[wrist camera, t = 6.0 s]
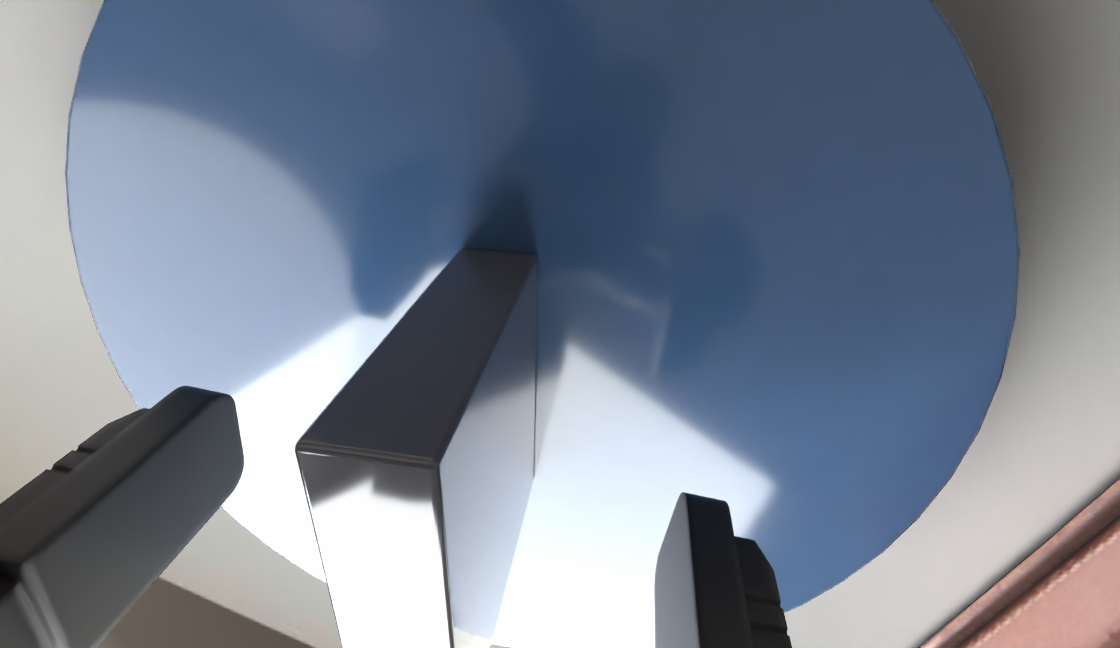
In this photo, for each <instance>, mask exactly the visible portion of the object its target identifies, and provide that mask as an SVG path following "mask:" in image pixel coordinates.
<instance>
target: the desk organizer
mask: <svg viewBox="0 0 1120 648" xmlns="http://www.w3.org/2000/svg"><path fill="white" fill-rule="evenodd" d="M919 648H1120V479H1119V480H1118V481H1116V482H1115V483H1114V484H1113V485H1112V486H1111V487H1109V488H1108V489H1107V490H1106V491H1105V492H1104V493H1103V494H1102V495H1100V496H1099V497H1098V498H1097V499H1095V500H1094V501H1093V502H1092V503H1091V504H1090V505H1088V506H1087V507H1086V508H1085V509H1084V510H1083V511H1082V512H1080V513H1079V514H1078V515H1077V516H1076V517H1075V518H1073V519H1072V520H1071V521H1070V522H1069V523H1068V524H1067V525H1065V526H1064V527H1063V528H1062V529H1061V530H1060V531H1059V532H1057V533H1056V534H1055V535H1054V536H1053V537H1052V538H1051V539H1049V540H1048V541H1047V542H1046V543H1045V544H1044V545H1042V546H1041V547H1040V548H1039V549H1038V550H1036V551H1035V552H1034V553H1033V554H1031V555H1030V556H1029V557H1028V558H1027V559H1025V560H1024V561H1023V562H1022V563H1021V564H1019V565H1018V566H1017V567H1016V568H1014V569H1013V570H1012V571H1011V572H1010V573H1008V574H1007V575H1006V576H1005V577H1004V578H1002V579H1001V580H1000V581H999V582H998V583H996V584H995V585H994V586H993V587H991V588H990V589H989V590H988V591H987V592H985V593H984V594H983V595H982V596H980V597H979V598H978V599H977V600H976V601H974V602H973V603H972V604H971V605H970V606H968V607H967V608H966V609H965V610H963V611H962V612H961V613H960V614H958V615H957V616H956V617H955V618H953V619H952V620H951V621H950V622H948V623H947V624H946V625H945V626H944V627H943V628H942V629H940V630H939V631H938V632H937V633H936V634H935V635H933V636H932V637H931V638H930V639H929V640H927V641H926V642H925V643H924V644H922V645H921V646H920V647H919Z"/></svg>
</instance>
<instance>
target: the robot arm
mask: <svg viewBox="0 0 1120 648" xmlns="http://www.w3.org/2000/svg"><path fill="white" fill-rule="evenodd" d="M243 468H244V453H243V447H242V441H241V435H240V429H239V423H238V417H237V410H236V405H235V401H234V399H233V398H232V396H230V395H229V394H225V393H220V392H215V391H211V390H206V389H201V388H196V387H192V386H181V387H179V388H177V389H175V390H174V391H172V392H171V393H170V394H168V395H167V396H166V397H164V398H163V399H162V400H161V401H159V402H158V403H157V404H155V405H154V406H153V407H152V408H150V409H148V408H142V409H140V410H138V411H136V412H133V413H131V414H129V415H127V416H124V417H122V418H120V419H118V420H116V421H113V422H111V423H109V424H107V425H106V426H104V427H103V428H102V429H100V430H99V431H98V432H96V433H95V434H94V435H92V436H91V437H90V438H88V439H87V440H86V441H84V442H83V443H82V444H80V445H79V446H78V449H77V450H76V451H73V450H72V451H71V452H69V453H68V454H67V455H65V456H64V457H63V458H61V459H60V460H59V461H57V462H56V463H55V464H53V468H52V469H51V470H45V471H44V472H43V473H41V474H40V475H39V476H37V477H36V478H35V479H33V480H32V481H31V482H29V483H28V484H26V485H25V486H24V487H22V488H21V489H20V490H18V491H17V492H16V493H14V494H13V495H12V496H10V497H9V498H8V499H6V500H5V501H4V502H2V503H1V504H0V648H96V647H97V646H98V645H99V644H100V643H101V642H102V640H103V639H104V638H105V637H106V636H107V635H108V634H109V633H110V631H111V630H112V629H113V628H114V627H115V626H116V625H117V623H118V622H119V621H120V620H121V619H122V618H123V617H124V615H125V614H126V613H127V612H128V611H129V610H130V609H131V607H132V606H133V605H134V604H135V603H136V602H137V601H138V599H139V598H140V597H141V596H142V595H143V594H144V593H145V592H146V590H147V589H148V588H149V587H150V586H151V585H152V584H153V583H154V581H155V580H156V579H157V578H158V577H159V576H160V575H161V573H162V572H163V571H164V570H165V569H166V568H167V567H168V565H169V564H170V563H171V562H172V561H173V560H174V559H175V558H176V556H177V555H178V554H179V553H180V552H181V551H182V550H183V548H184V547H185V546H186V545H187V544H188V543H189V542H190V540H191V539H192V538H193V537H194V536H195V535H196V534H197V532H198V531H199V530H200V529H201V528H202V527H203V526H204V525H205V523H206V522H207V521H208V520H209V519H210V518H211V517H212V515H213V514H214V513H215V512H216V511H217V510H218V509H219V507H220V506H221V505H222V504H223V503H224V502H225V501H226V500H227V498H228V497H229V496H230V495H231V494H232V492H233V491H234V490H235V488H236V486H237V485H238V483H239V480H240V478H241V475H242V472H243ZM654 600H655V648H792V646H791V642H790V637H789V636H787V625H786V620H785V616H784V612H783V608H781V606H780V604H781V599H780V595H779V591H778V586H777V582H776V578H775V574H774V570H773V568H772V567H771V565H770V563H769V562H768V560H767V559H766V557H765V556H764V554H763V552H762V551H761V549H760V548H759V546H758V545H757V543H756V541H755V540H751V539H747V538H742V537H737V536H734V531H733V526H732V520H731V514H730V509H729V506H728V503H727V502H726V501H723V500H718V499H713V498H709V497H704V496H699V495H695V494H690V493H685V492H682V493H681V494H680V496H679V498H678V500H677V503H676V506H675V509H674V511H673V514H672V517H671V520H670V523H669V525H668V528H667V531H666V534H665V537H664V540H663V542H662V545H661V548H660V551H659V555H658V559H657V564H656V571H655V583H654Z"/></svg>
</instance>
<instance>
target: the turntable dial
mask: <svg viewBox="0 0 1120 648" xmlns="http://www.w3.org/2000/svg"><path fill="white" fill-rule="evenodd" d="M65 178H66V190H67V203H68V216H69V228H70V233H71V238H72V243H73V247H74V252H75V257H76V262H77V266H78V271H79V276H80V280H81V284H82V287H83V289H84V292H85V295H86V298H87V301H88V304H89V307H90V310H91V313H92V316H93V319H94V322H95V325H96V328H97V330H98V332H99V335H100V337H101V339H102V341H103V343H104V345H105V347H106V350H107V352H108V354H109V356H110V358H111V360H112V362H113V364H114V367H115V369H116V371H117V373H118V375H119V377H120V378H121V380H122V382H123V383H124V385H125V387H126V388H127V390H128V392H129V393H130V395H131V397H132V398H133V400H134V402H135V403H136V405H137V407H138V408H139V410H140V409H142V408H148V409H150V408H152V407H153V406H154V405H155V404H157V403H158V402H159V401H161V400H162V399H163V398H164V397H166V396H167V395H168V394H170V393H171V392H172V391H174V390H175V389H177V388H179V387H181V386H192V387H196V388H201V389H206V390H211V391H215V392H220V393H225V394H229V395H230V396H232V398H233V399H234V401H235V405H236V410H237V417H238V423H239V429H240V435H241V441H242V447H243V453H244V468H243V472H242V475H241V478H240V480H239V483H238V485H237V486H236V488H235V490H234V491H233V492H232V494H231V495H230V496H229V497H228V498H227V500H226V501H225V502H224V503H223V504H222V505H221V507H222V508H223V509H224V510H225V511H226V512H227V513H228V514H230V515H231V516H232V517H233V518H234V519H235V520H236V521H237V522H238V523H240V524H241V525H242V526H244V527H245V528H246V529H247V530H249V531H250V532H251V533H252V534H254V535H255V536H256V537H257V538H259V539H260V540H261V541H262V542H264V543H265V544H266V545H267V546H269V547H270V548H271V549H273V550H274V551H276V552H277V553H279V554H280V555H282V556H283V557H285V558H286V559H288V560H289V561H291V562H292V563H294V564H295V565H297V566H298V567H300V568H301V569H303V570H304V571H306V572H307V573H309V574H311V575H313V576H314V577H316V578H318V579H320V580H322V581H323V582H325V583H327V586H328V590H329V594H330V598H331V602H332V606H333V611H334V615H335V619H336V623H337V627H338V631H339V635H340V640H341V644H342V648H491V644H496V645H500V646H506V647H514V648H655V600H654V583H655V571H656V564H657V559H658V555H659V551H660V548H661V545H662V542H663V540H664V537H665V534H666V531H667V528H668V525H669V523H670V520H671V517H672V514H673V511H674V509H675V506H676V503H677V500H678V498H679V496H680V494H681V493H682V492H685V493H690V494H695V495H699V496H704V497H709V498H713V499H718V500H723V501H726V502H727V503H728V506H729V509H730V514H731V520H732V526H733V531H734V536H737V537H742V538H747V539H751V540H755V541H756V543H757V545H758V546H759V548H760V549H761V551H762V552H763V554H764V556H765V557H766V559H767V560H768V562H769V563H770V565H771V567H772V568H773V570H774V574H775V578H776V582H777V586H778V591H779V595H780V599H781V604H780V606H781V608H783V612H784V613H785V612H787V611H790V610H792V609H794V608H797V607H799V606H801V605H803V604H805V603H807V602H808V601H810V600H812V599H814V598H815V597H817V596H819V595H821V594H822V593H824V592H826V591H828V590H829V589H831V588H833V587H835V586H836V585H838V584H840V583H842V582H843V581H845V580H846V579H847V578H849V577H850V576H851V575H853V574H854V573H855V572H857V571H858V570H859V569H861V568H862V567H864V566H865V565H866V564H868V563H869V562H870V561H872V560H873V559H874V558H876V557H877V556H879V555H880V554H881V553H882V552H883V551H884V550H886V549H887V548H888V547H889V546H890V545H891V544H892V543H893V542H894V541H895V540H896V539H897V538H898V537H899V536H900V535H901V534H902V533H904V532H905V531H906V530H907V529H908V528H909V527H910V526H911V525H912V524H913V523H914V522H915V521H916V520H917V519H918V518H919V517H920V516H921V515H922V513H923V512H924V511H925V510H926V508H927V507H928V506H929V505H930V503H931V502H932V501H933V500H934V498H935V497H936V496H937V495H938V494H939V492H940V491H941V490H942V489H943V487H944V486H945V485H946V484H947V482H948V481H949V480H950V479H951V477H952V476H953V474H954V472H955V471H956V469H957V467H958V466H959V464H960V462H961V461H962V459H963V457H964V456H965V454H966V452H967V451H968V449H969V447H970V446H971V444H972V442H973V441H974V439H975V437H976V436H977V434H978V432H979V430H980V428H981V425H982V423H983V421H984V418H985V416H986V413H987V411H988V408H989V406H990V404H991V401H992V399H993V396H994V394H995V391H996V389H997V386H998V384H999V382H1000V379H1001V376H1002V372H1003V368H1004V364H1005V359H1006V355H1007V351H1008V347H1009V342H1010V338H1011V334H1012V330H1013V326H1014V321H1015V316H1016V301H1017V287H1018V272H1019V257H1020V248H1019V238H1018V229H1017V219H1016V209H1015V199H1014V189H1013V180H1012V177H1011V173H1010V170H1009V166H1008V162H1007V159H1006V155H1005V152H1004V148H1003V144H1002V141H1001V137H1000V134H999V130H998V127H997V123H996V119H995V116H994V112H993V109H992V106H991V104H990V102H989V100H988V98H987V95H986V93H985V91H984V89H983V87H982V85H981V83H980V81H979V79H978V77H977V74H976V72H975V70H974V68H973V66H972V64H971V62H970V60H969V58H968V56H967V53H966V51H965V49H964V47H963V45H962V43H961V41H960V39H959V37H958V35H957V33H956V32H955V30H954V29H953V27H952V26H951V25H950V23H949V22H948V20H947V19H946V17H945V16H944V15H943V13H942V12H941V10H940V9H939V8H938V6H937V5H936V3H935V2H934V1H933V0H104V1H103V4H102V6H101V9H100V11H99V14H98V16H97V19H96V21H95V24H94V26H93V29H92V32H91V34H90V37H89V39H88V42H87V44H86V47H85V49H84V52H83V54H82V57H81V62H80V66H79V71H78V75H77V80H76V85H75V89H74V94H73V98H72V103H71V107H70V112H69V119H68V136H67V152H66V168H65Z"/></svg>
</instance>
